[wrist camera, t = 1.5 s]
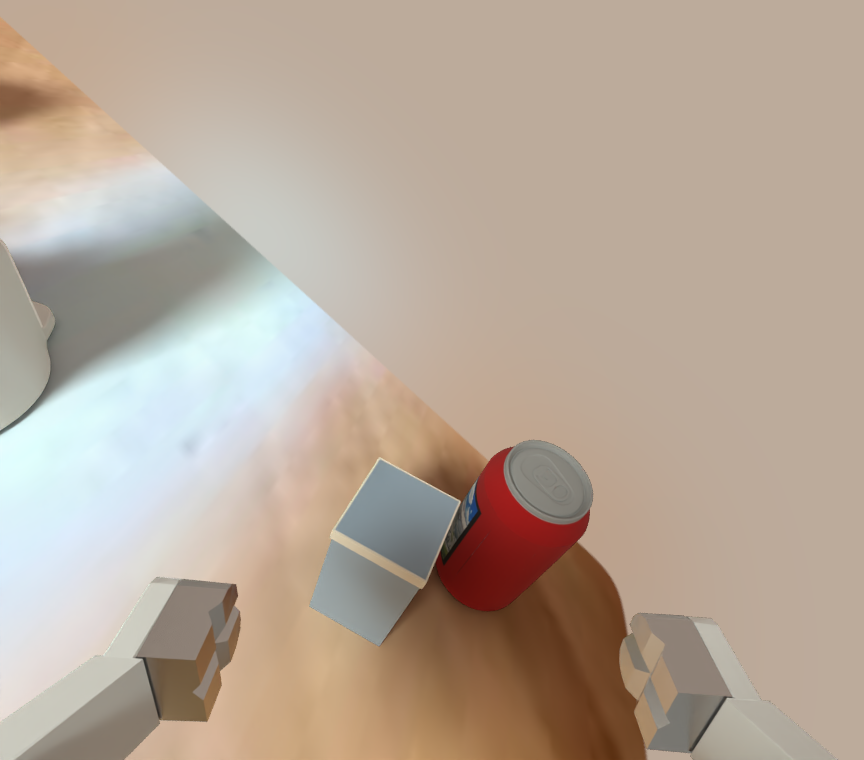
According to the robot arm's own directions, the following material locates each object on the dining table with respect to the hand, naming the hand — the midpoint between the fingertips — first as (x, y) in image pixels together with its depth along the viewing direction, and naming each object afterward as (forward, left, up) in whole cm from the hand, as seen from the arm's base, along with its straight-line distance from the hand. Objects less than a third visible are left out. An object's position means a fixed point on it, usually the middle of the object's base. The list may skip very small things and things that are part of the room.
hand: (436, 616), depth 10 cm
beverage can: (+5, +15, -22) cm, 27 cm away
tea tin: (-2, +10, -22) cm, 24 cm away
